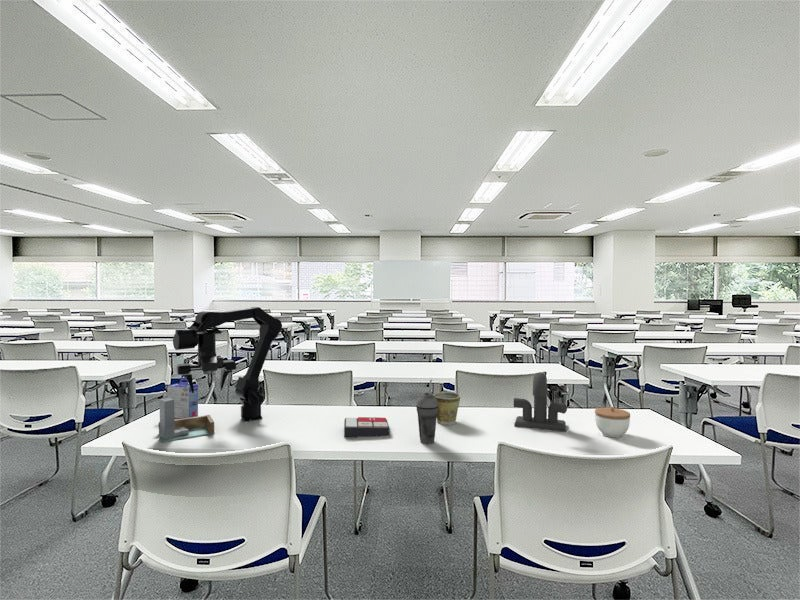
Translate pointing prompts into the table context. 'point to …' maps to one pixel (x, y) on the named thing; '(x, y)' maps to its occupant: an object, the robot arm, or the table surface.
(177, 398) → the ink cartridge box
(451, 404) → the ceramic cup
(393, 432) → the table surface
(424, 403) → the beverage cup
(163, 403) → the angle bracket
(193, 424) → the tray
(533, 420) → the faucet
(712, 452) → the table surface
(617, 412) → the lidded jar
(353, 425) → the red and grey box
